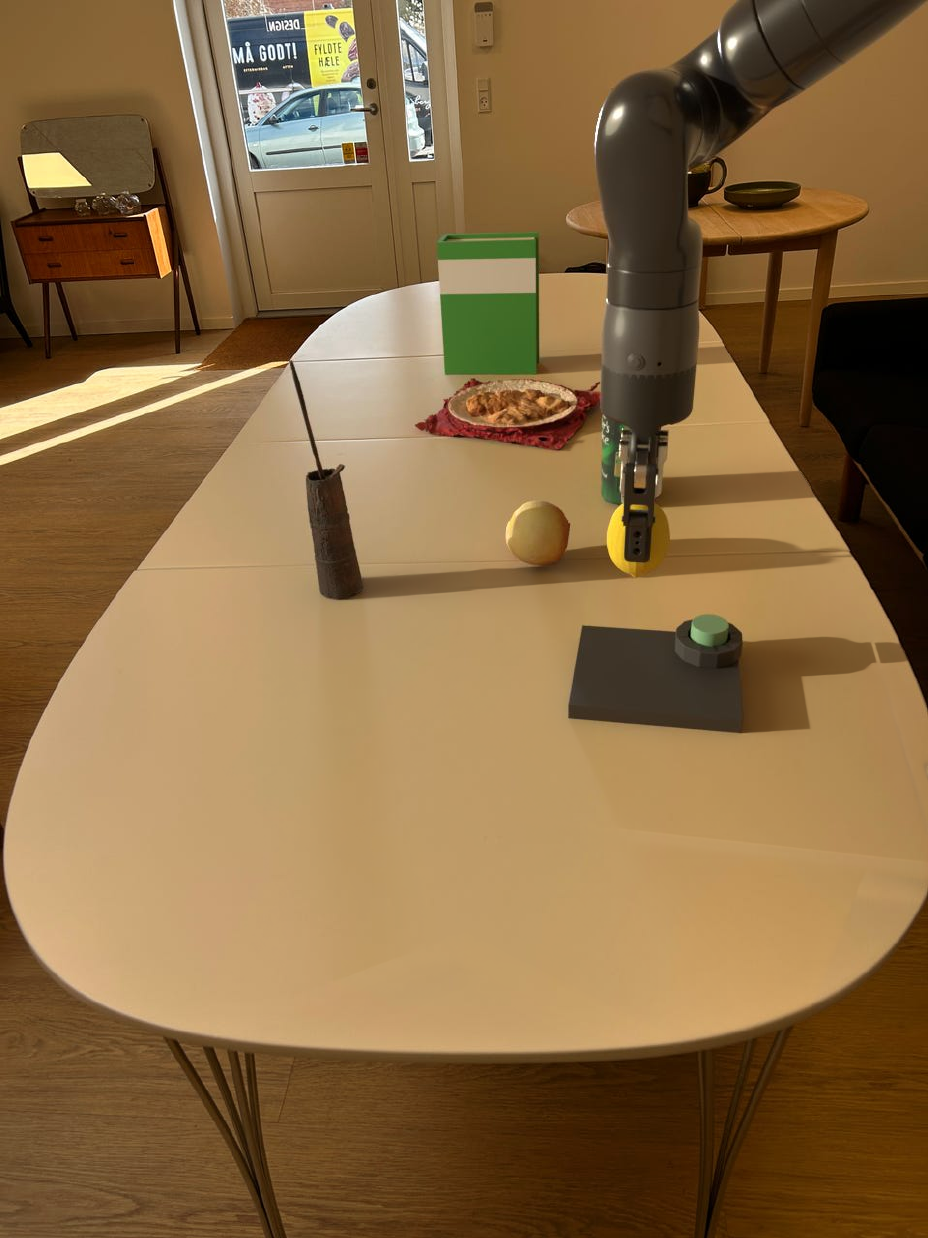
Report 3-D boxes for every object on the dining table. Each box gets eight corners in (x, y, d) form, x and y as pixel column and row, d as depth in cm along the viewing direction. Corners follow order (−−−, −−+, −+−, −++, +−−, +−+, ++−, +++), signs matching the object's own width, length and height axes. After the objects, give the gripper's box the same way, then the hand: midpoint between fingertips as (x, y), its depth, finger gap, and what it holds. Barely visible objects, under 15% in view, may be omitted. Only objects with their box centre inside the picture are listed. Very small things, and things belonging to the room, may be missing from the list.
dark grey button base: (737, 647, 98) (741, 619, 96) (743, 734, 86) (748, 704, 84) (582, 636, 101) (582, 609, 99) (568, 718, 89) (568, 689, 87)
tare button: (726, 629, 95) (728, 615, 94) (727, 649, 92) (729, 634, 91) (690, 627, 96) (691, 612, 95) (690, 646, 93) (691, 632, 92)
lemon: (640, 598, 82) (645, 517, 78) (593, 577, 86) (595, 498, 81) (679, 575, 85) (686, 495, 81) (631, 556, 89) (635, 478, 84)
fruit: (523, 542, 120) (522, 485, 116) (581, 557, 116) (582, 498, 112) (492, 568, 115) (490, 509, 110) (552, 584, 111) (552, 524, 106)
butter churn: (372, 559, 118) (346, 337, 103) (396, 594, 111) (372, 359, 96) (301, 576, 115) (264, 350, 100) (321, 612, 108) (284, 374, 93)
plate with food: (472, 388, 173) (471, 369, 171) (606, 398, 162) (606, 379, 161) (413, 435, 155) (410, 415, 153) (558, 450, 145) (558, 429, 143)
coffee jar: (601, 479, 135) (605, 351, 125) (656, 480, 134) (665, 351, 124) (598, 508, 127) (602, 374, 117) (657, 510, 126) (666, 375, 116)
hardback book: (539, 362, 183) (538, 231, 170) (536, 374, 177) (535, 240, 164) (450, 362, 186) (443, 234, 173) (444, 374, 180) (436, 242, 167)
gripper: (697, 386, 68) (680, 586, 77) (697, 331, 80) (682, 510, 89) (593, 385, 69) (589, 581, 78) (608, 331, 81) (602, 507, 90)
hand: (638, 542), depth 84 cm, fingers closed on lemon, 5 cm apart
